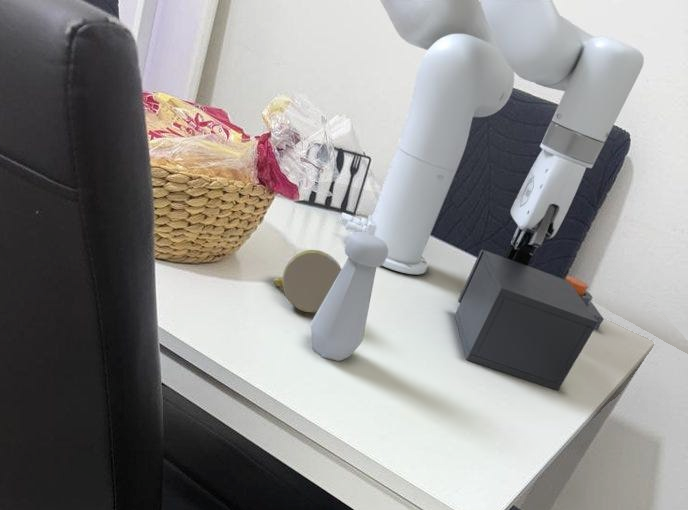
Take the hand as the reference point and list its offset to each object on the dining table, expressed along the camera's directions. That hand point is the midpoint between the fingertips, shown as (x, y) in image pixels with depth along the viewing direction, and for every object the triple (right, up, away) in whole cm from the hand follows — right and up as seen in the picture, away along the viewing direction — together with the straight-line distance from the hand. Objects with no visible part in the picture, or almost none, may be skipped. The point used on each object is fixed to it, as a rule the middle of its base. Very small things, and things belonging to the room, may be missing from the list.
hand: (508, 275), depth 104 cm
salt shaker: (-26, -16, -26) cm, 41 cm away
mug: (-30, -8, -17) cm, 35 cm away
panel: (+14, -1, +18) cm, 23 cm away
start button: (+15, +2, +16) cm, 22 cm away
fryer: (-3, -13, -8) cm, 15 cm away
